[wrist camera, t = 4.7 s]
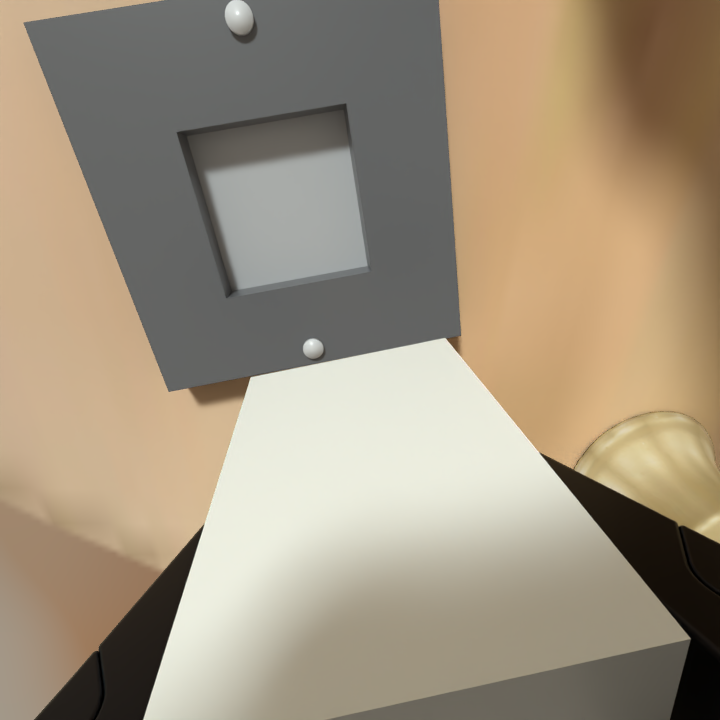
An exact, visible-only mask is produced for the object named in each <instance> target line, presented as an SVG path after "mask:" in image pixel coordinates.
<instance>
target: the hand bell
mask: <svg viewBox="0 0 720 720" xmlns="http://www.w3.org/2000/svg"><path fill="white" fill-rule="evenodd" d="M574 470H575V471H577V472H579V473H581V474H583V475H585V476H587V477H589V478H591V479H593V480H595V481H597V482H599V483H601V484H603V485H605V486H607V487H609V488H611V489H613V490H615V491H617V492H619V493H621V494H623V495H625V496H627V497H629V498H631V499H632V500H634V501H636V502H638V503H640V504H642V505H644V506H646V507H648V508H650V509H652V510H654V511H656V512H658V513H660V514H662V515H664V516H666V517H668V518H670V519H672V520H674V521H676V522H677V523H678V526H680V525H684V526H686V527H688V528H690V529H692V530H694V531H696V532H698V533H700V534H702V535H704V536H706V537H708V538H710V539H712V540H714V541H716V542H718V543H720V471H719V470H718V468H717V466H716V464H715V450H714V446H713V443H712V441H711V438H710V436H709V435H708V433H707V431H706V430H705V428H704V427H703V426H702V425H701V424H700V423H699V422H697V421H696V420H695V419H693V418H691V417H689V416H687V415H684V414H681V413H677V412H664V411H660V412H650V413H646V414H643V415H640V416H636V417H633V418H631V419H628V420H625V421H623V422H621V423H619V424H618V425H616V426H614V427H613V428H612V429H610V430H608V431H607V432H605V433H604V434H602V435H601V436H600V437H599V438H598V439H597V440H596V441H595V442H594V443H593V444H592V445H591V446H590V447H589V448H588V450H587V451H586V452H585V453H584V455H583V456H582V457H581V458H580V459H579V461H578V463H577V465H576V466H575V469H574Z"/></svg>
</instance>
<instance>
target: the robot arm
mask: <svg viewBox="0 0 720 720" xmlns="http://www.w3.org/2000/svg"><path fill="white" fill-rule="evenodd" d="M539 453H540V452H539ZM540 455H541V456H542V457H543V458H544V459H545V461H546V462H547V463H548V464H549V466H550V467H551V468H552V469H553V470H554V472H555V473H556V474H557V475H558V477H559V478H560V479H561V480H562V482H563V483H564V484H565V485H566V486H567V488H568V489H569V490H570V491H571V493H572V494H573V495H574V496H575V497H576V499H577V500H578V501H579V502H580V504H581V505H582V506H583V507H584V508H585V510H586V511H587V512H588V513H589V515H590V516H591V517H592V518H593V520H594V521H595V522H596V523H597V524H598V526H599V527H600V528H601V529H602V531H603V532H604V533H605V534H606V535H607V537H608V538H609V539H610V540H611V542H612V543H613V544H614V545H615V546H616V548H617V549H618V550H619V551H620V553H621V554H622V555H623V556H624V558H625V559H626V560H627V561H628V562H629V564H630V565H631V566H632V567H633V569H634V570H635V571H636V572H637V573H638V575H639V576H640V577H641V578H642V580H643V581H644V582H645V583H646V584H647V586H648V587H649V588H650V589H651V591H652V592H653V593H654V594H655V596H656V597H657V598H658V599H659V600H660V602H661V603H662V604H663V605H664V607H665V608H666V609H667V610H668V611H669V613H670V614H671V615H672V616H673V618H674V619H675V620H676V621H677V622H678V624H679V625H680V626H681V627H682V629H683V630H684V631H685V632H686V634H687V635H688V636H689V637H690V638H691V640H690V644H689V648H688V652H687V656H686V659H685V663H684V667H683V671H682V675H681V678H680V682H679V686H678V690H677V694H676V698H675V701H674V705H673V709H672V713H671V717H670V720H720V543H718V542H716V541H714V540H712V539H710V538H708V537H706V536H704V535H702V534H700V533H698V532H696V531H694V530H692V529H690V528H688V527H686V526H684V525H680V526H678V523H677V522H676V521H674V520H672V519H670V518H668V517H666V516H664V515H662V514H660V513H658V512H656V511H654V510H652V509H650V508H648V507H646V506H644V505H642V504H640V503H638V502H636V501H634V500H632V499H631V498H629V497H627V496H625V495H623V494H621V493H619V492H617V491H615V490H613V489H611V488H609V487H607V486H605V485H603V484H601V483H599V482H597V481H595V480H593V479H591V478H589V477H587V476H585V475H583V474H581V473H579V472H577V471H575V470H573V469H571V468H569V467H567V466H565V465H563V464H561V463H559V462H557V461H556V460H554V459H552V458H550V457H548V456H546V455H544V454H542V453H540ZM204 525H205V524H204ZM204 525H203V526H202V527H201V528H200V529H199V531H198V532H197V533H196V534H195V535H194V536H193V538H192V539H191V540H190V541H189V542H188V543H187V545H186V546H185V547H184V548H183V549H182V550H181V551H180V553H179V554H178V555H177V556H176V557H175V558H174V560H173V561H172V562H171V563H170V564H169V565H168V567H167V568H166V569H165V570H164V571H163V572H162V574H161V575H160V576H159V577H158V578H157V579H156V581H155V582H154V583H153V584H152V585H151V586H150V587H149V589H148V590H147V591H146V592H145V593H144V595H143V596H142V597H141V598H140V599H139V600H138V601H137V603H136V604H135V605H134V606H133V607H132V608H131V610H130V611H129V612H128V613H127V614H126V615H125V616H124V618H123V619H122V620H121V621H120V622H119V623H118V625H117V626H116V627H115V628H114V629H113V630H112V632H111V633H110V634H109V635H108V636H107V637H106V639H105V640H104V641H103V642H102V643H101V644H100V646H99V651H95V652H93V653H92V655H91V656H90V657H89V658H88V659H87V660H86V661H85V663H84V664H83V665H82V666H81V667H80V668H79V670H78V671H77V672H76V673H75V674H74V675H73V677H72V678H71V679H70V680H69V681H68V682H67V683H66V685H65V686H64V687H63V688H62V689H61V690H60V691H59V692H58V693H57V695H56V696H55V697H54V698H53V699H52V700H51V701H50V702H49V704H48V705H47V706H46V707H45V708H44V709H43V710H42V712H41V713H40V714H39V715H38V716H37V717H36V718H35V719H34V720H143V719H144V716H145V713H146V709H147V706H148V703H149V700H150V697H151V693H152V690H153V687H154V684H155V681H156V677H157V674H158V671H159V668H160V665H161V662H162V658H163V655H164V652H165V649H166V646H167V642H168V639H169V636H170V633H171V630H172V627H173V623H174V620H175V617H176V614H177V611H178V607H179V604H180V601H181V598H182V595H183V592H184V588H185V585H186V582H187V579H188V576H189V572H190V569H191V566H192V563H193V560H194V557H195V553H196V550H197V547H198V544H199V541H200V537H201V534H202V531H203V528H204Z"/></svg>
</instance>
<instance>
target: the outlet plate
mask: <svg viewBox="0 0 720 720" xmlns="http://www.w3.org/2000/svg"><path fill="white" fill-rule="evenodd" d="M24 25H25V28H26V30H27V33H28V35H29V38H30V41H31V43H32V46H33V48H34V51H35V53H36V56H37V58H38V61H39V63H40V66H41V68H42V71H43V74H44V76H45V79H46V81H47V84H48V86H49V89H50V91H51V94H52V96H53V99H54V101H55V104H56V107H57V109H58V112H59V114H60V117H61V119H62V122H63V124H64V127H65V129H66V132H67V135H68V137H69V140H70V142H71V145H72V147H73V150H74V152H75V155H76V157H77V160H78V162H79V165H80V168H81V170H82V173H83V175H84V178H85V180H86V183H87V185H88V188H89V190H90V193H91V195H92V198H93V201H94V203H95V206H96V208H97V211H98V213H99V216H100V218H101V221H102V223H103V226H104V228H105V231H106V234H107V236H108V239H109V241H110V244H111V246H112V249H113V251H114V254H115V256H116V259H117V261H118V264H119V267H120V269H121V272H122V274H123V277H124V279H125V282H126V284H127V287H128V289H129V292H130V295H131V297H132V300H133V302H134V305H135V307H136V310H137V312H138V315H139V317H140V320H141V322H142V325H143V328H144V330H145V333H146V335H147V338H148V340H149V343H150V345H151V348H152V350H153V353H154V355H155V358H156V361H157V363H158V366H159V368H160V371H161V373H162V376H163V378H164V381H165V383H166V386H167V388H168V391H169V392H170V391H176V390H181V389H186V388H191V387H196V386H202V385H207V384H212V383H217V382H222V381H228V380H233V379H238V378H243V377H248V376H254V375H259V374H264V373H269V372H274V371H280V370H285V369H290V368H295V367H300V366H306V365H311V364H316V363H321V362H326V361H332V360H337V359H342V358H347V357H352V356H357V355H363V354H368V353H373V352H378V351H383V350H388V349H393V348H398V347H403V346H408V345H413V344H418V343H423V342H427V341H432V340H437V339H442V338H451V337H456V336H461V328H460V313H459V298H458V283H457V268H456V253H455V238H454V223H453V208H452V193H451V178H450V163H449V148H448V134H447V119H446V104H445V89H444V74H443V59H442V44H441V29H440V14H439V0H164V1H158V2H151V3H145V4H139V5H132V6H126V7H120V8H113V9H107V10H101V11H94V12H88V13H81V14H75V15H69V16H62V17H56V18H50V19H43V20H37V21H31V22H24Z"/></svg>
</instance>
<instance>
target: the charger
mask: <svg viewBox="0 0 720 720" xmlns="http://www.w3.org/2000/svg"><path fill="white" fill-rule="evenodd" d="M690 640H691V638H690V637H689V636H688V635H687V634H686V632H685V631H684V630H683V629H682V627H681V626H680V625H679V624H678V622H677V621H676V620H675V619H674V618H673V616H672V615H671V614H670V613H669V611H668V610H667V609H666V608H665V607H664V605H663V604H662V603H661V602H660V600H659V599H658V598H657V597H656V596H655V594H654V593H653V592H652V591H651V589H650V588H649V587H648V586H647V584H646V583H645V582H644V581H643V580H642V578H641V577H640V576H639V575H638V573H637V572H636V571H635V570H634V569H633V567H632V566H631V565H630V564H629V562H628V561H627V560H626V559H625V558H624V556H623V555H622V554H621V553H620V551H619V550H618V549H617V548H616V546H615V545H614V544H613V543H612V542H611V540H610V539H609V538H608V537H607V535H606V534H605V533H604V532H603V531H602V529H601V528H600V527H599V526H598V524H597V523H596V522H595V521H594V520H593V518H592V517H591V516H590V515H589V513H588V512H587V511H586V510H585V508H584V507H583V506H582V505H581V504H580V502H579V501H578V500H577V499H576V497H575V496H574V495H573V494H572V493H571V491H570V490H569V489H568V488H567V486H566V485H565V484H564V483H563V482H562V480H561V479H560V478H559V477H558V475H557V474H556V473H555V472H554V470H553V469H552V468H551V467H550V466H549V464H548V463H547V462H546V461H545V459H544V458H543V457H542V456H541V455H540V453H539V452H538V451H537V450H536V448H535V447H534V446H533V445H532V444H531V442H530V441H529V440H528V439H527V437H526V436H525V435H524V434H523V432H522V431H521V430H520V429H519V428H518V426H517V425H516V424H515V423H514V421H513V420H512V419H511V418H510V417H509V415H508V414H507V413H506V412H505V410H504V409H503V408H502V407H501V406H500V404H499V403H498V402H497V401H496V399H495V398H494V397H493V396H492V394H491V393H490V392H489V391H488V390H487V388H486V387H485V386H484V385H483V383H482V382H481V381H480V380H479V379H478V377H477V376H476V375H475V374H474V372H473V371H472V370H471V369H470V368H469V366H468V365H467V364H466V363H465V361H464V360H463V359H462V358H461V356H460V355H459V354H458V353H457V352H456V350H455V349H454V348H453V347H452V345H451V344H450V343H449V342H448V341H447V339H446V338H442V339H437V340H432V341H427V342H423V343H418V344H413V345H408V346H403V347H398V348H393V349H388V350H383V351H378V352H373V353H368V354H363V355H358V356H353V357H348V358H344V359H339V360H334V361H329V362H324V363H319V364H314V365H309V366H304V367H299V368H294V369H289V370H284V371H279V372H274V373H269V374H264V375H260V376H255V377H251V378H250V381H249V385H248V388H247V391H246V394H245V397H244V401H243V404H242V407H241V410H240V413H239V416H238V420H237V423H236V426H235V429H234V432H233V436H232V439H231V442H230V445H229V448H228V452H227V455H226V458H225V461H224V464H223V467H222V471H221V474H220V477H219V480H218V483H217V487H216V490H215V493H214V496H213V499H212V502H211V506H210V509H209V512H208V515H207V518H206V522H205V525H204V528H203V531H202V534H201V537H200V541H199V544H198V547H197V550H196V553H195V557H194V560H193V563H192V566H191V569H190V572H189V576H188V579H187V582H186V585H185V588H184V592H183V595H182V598H181V601H180V604H179V607H178V611H177V614H176V617H175V620H174V623H173V627H172V630H171V633H170V636H169V639H168V642H167V646H166V649H165V652H164V655H163V658H162V662H161V665H160V668H159V671H158V674H157V677H156V681H155V684H154V687H153V690H152V693H151V697H150V700H149V703H148V706H147V709H146V713H145V716H144V719H143V720H670V717H671V713H672V709H673V705H674V701H675V698H676V694H677V690H678V686H679V682H680V678H681V675H682V671H683V667H684V663H685V659H686V656H687V652H688V648H689V644H690Z"/></svg>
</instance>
